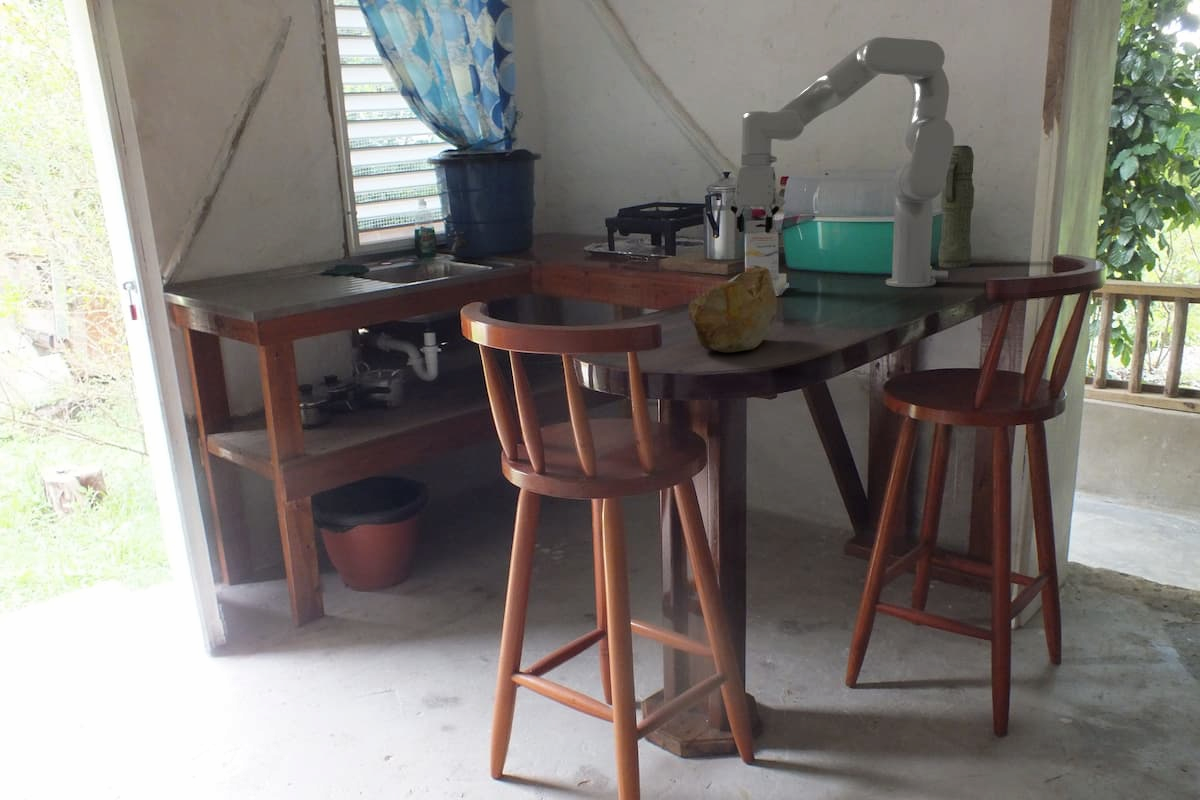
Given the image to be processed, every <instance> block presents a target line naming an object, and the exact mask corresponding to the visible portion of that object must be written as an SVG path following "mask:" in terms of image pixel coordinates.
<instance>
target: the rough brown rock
mask: <svg viewBox="0 0 1200 800" xmlns="http://www.w3.org/2000/svg"><path fill="white" fill-rule="evenodd" d="M739 274H740V273H739ZM739 274H738V275H739ZM777 298H778V297H776V294H775V291H774V287H773V283H772V279H771V275H770V272H769V270H768V269H767V268H763V267H762V268H761V267H760V266H755V267H754V268H752V269H750V270H748V271H745V270H744V271H743V272H741V274H740V275H739V276H738V277H737V278H735V279H734V280H733V281H732V282H728V281H727V282H722V283H719V284H715V285H712V286H710V287H709V289H708V291H707V292H706V293H703V294H701V295H697V296H696V297H694V298H693V299H692V300H691V301H689V303H688V316H689V319H690V321H691V322H692V324H693V325H694V328H695V333H696V334H697V335H696V336H697V339H698V341H699V343H700V345H701V346H702V347H704V350H711V349H712V350H713V351H717V352H721V353H737V352H741V351H751V350H754V349H755V348H757V347H759V345H760V344H761V343H762V342H763V341H764V340H766V338H767V337H768V336H769V334H771V333H770V332H771V329H772V328H771V327H772V325H771V321H772V320H773V319H774V318H775V317H776V315H777V313H778V311H777V309H778V299H777Z"/></svg>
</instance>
